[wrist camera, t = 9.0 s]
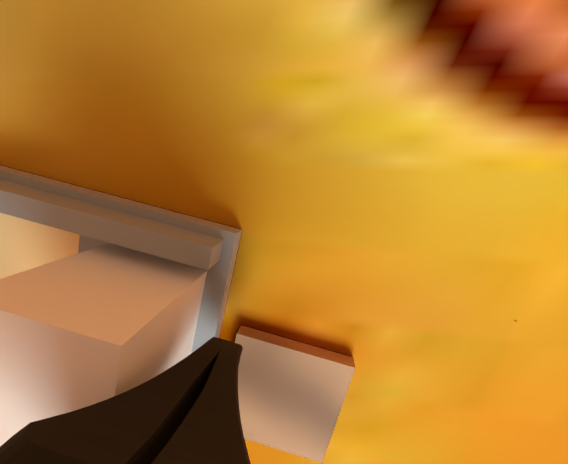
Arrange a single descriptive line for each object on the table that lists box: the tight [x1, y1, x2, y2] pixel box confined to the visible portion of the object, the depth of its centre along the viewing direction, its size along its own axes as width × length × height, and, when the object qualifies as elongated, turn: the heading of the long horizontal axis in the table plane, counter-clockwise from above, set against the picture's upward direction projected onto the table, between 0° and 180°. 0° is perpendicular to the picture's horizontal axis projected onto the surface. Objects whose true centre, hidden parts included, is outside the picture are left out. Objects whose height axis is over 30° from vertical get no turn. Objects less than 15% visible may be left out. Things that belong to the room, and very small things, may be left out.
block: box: [0, 243, 207, 446], centre depth 11 cm, size 5×5×6 cm
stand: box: [235, 325, 355, 463], centre depth 15 cm, size 6×6×1 cm
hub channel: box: [0, 165, 242, 353], centre depth 13 cm, size 10×14×4 cm
